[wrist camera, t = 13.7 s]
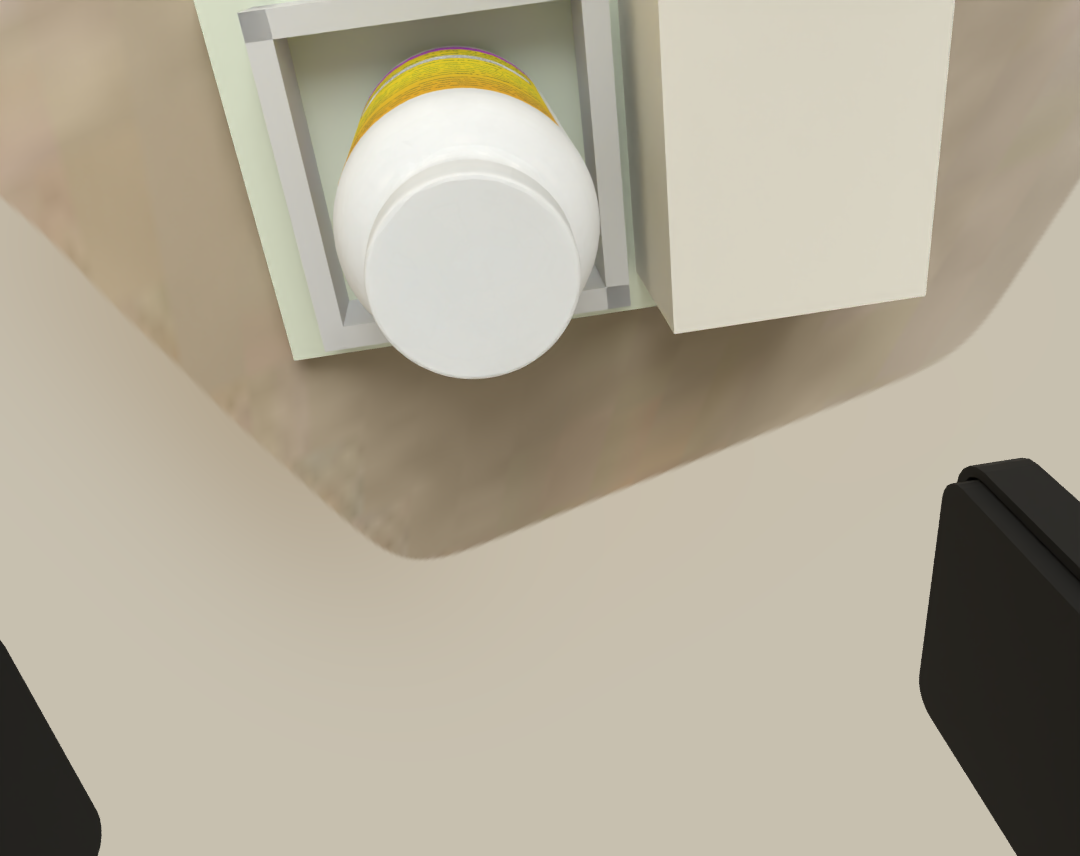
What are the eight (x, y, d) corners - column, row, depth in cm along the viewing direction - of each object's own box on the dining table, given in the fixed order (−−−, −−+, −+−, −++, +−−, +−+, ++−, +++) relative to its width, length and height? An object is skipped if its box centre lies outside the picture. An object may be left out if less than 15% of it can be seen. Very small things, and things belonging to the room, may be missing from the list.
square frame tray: (877, -124, 29) (1007, -141, 22) (855, 260, 35) (951, 335, 29) (196, -31, 28) (125, -21, 22) (299, 344, 35) (268, 440, 28)
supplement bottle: (318, 104, 29) (247, 216, 18) (499, 3, 28) (543, 53, 17) (423, 277, 32) (416, 464, 21) (588, 191, 31) (673, 338, 20)
